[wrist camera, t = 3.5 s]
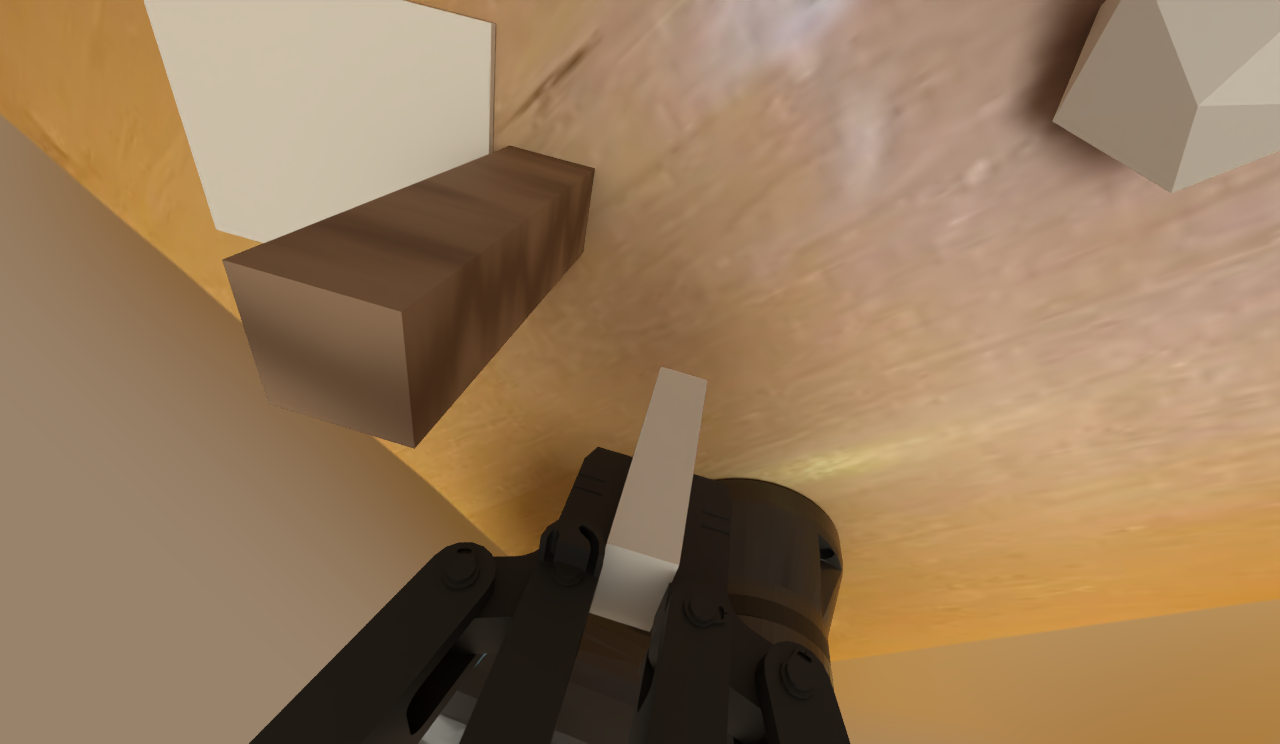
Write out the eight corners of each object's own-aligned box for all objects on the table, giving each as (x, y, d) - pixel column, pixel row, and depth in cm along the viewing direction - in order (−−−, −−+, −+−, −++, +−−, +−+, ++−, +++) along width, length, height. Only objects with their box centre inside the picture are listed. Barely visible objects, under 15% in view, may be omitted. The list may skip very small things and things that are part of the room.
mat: (489, 303, 33) (485, 307, 33) (222, 227, 34) (216, 229, 34) (495, 23, 24) (491, 23, 24) (131, -71, 25) (120, -73, 25)
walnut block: (582, 252, 30) (414, 448, 15) (506, 230, 30) (268, 404, 16) (594, 168, 27) (401, 311, 12) (509, 145, 27) (222, 259, 13)
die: (987, 151, 24) (1191, 270, 18) (1032, -54, 17) (1388, 37, 11) (1150, 49, 23) (1420, 141, 17) (1270, -213, 16) (1794, -203, 10)
